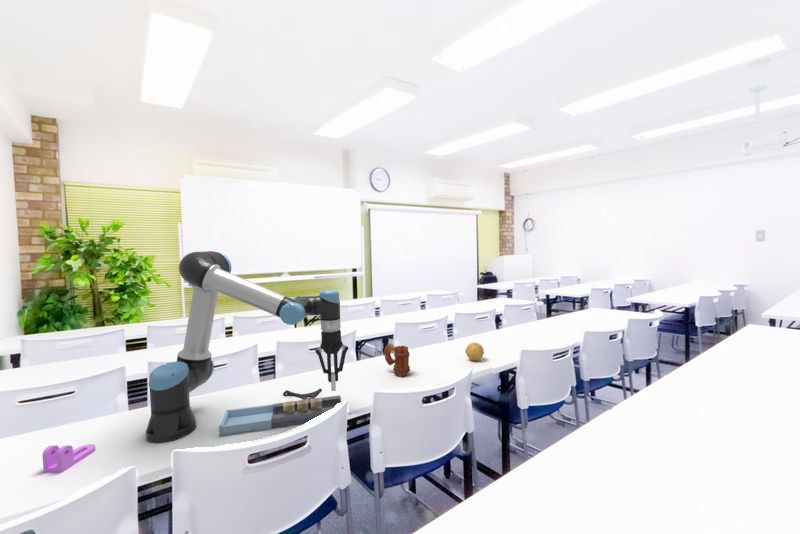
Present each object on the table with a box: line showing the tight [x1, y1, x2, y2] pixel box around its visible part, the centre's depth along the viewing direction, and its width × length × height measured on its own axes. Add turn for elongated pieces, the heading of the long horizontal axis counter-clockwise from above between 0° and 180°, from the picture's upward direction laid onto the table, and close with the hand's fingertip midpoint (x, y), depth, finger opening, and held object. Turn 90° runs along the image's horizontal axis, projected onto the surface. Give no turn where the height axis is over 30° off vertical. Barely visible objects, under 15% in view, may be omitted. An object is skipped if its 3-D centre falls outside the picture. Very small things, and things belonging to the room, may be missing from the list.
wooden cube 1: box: [283, 400, 296, 413], centre depth 138 cm, size 4×4×4 cm
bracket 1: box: [42, 443, 96, 474], centre depth 112 cm, size 13×6×7 cm, turn 179°
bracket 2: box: [282, 388, 323, 400], centre depth 158 cm, size 14×15×3 cm
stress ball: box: [465, 342, 485, 362], centre depth 203 cm, size 10×10×10 cm
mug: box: [383, 343, 411, 377], centre depth 184 cm, size 15×8×15 cm, turn 58°
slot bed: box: [271, 395, 342, 430], centre depth 140 cm, size 26×14×4 cm, turn 106°
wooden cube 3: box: [310, 397, 322, 410], centre depth 141 cm, size 4×4×4 cm
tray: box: [218, 403, 274, 437], centre depth 134 cm, size 17×14×3 cm
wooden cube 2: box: [296, 398, 309, 412], centre depth 139 cm, size 4×4×4 cm
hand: (333, 389), depth 142 cm, fingers closed
